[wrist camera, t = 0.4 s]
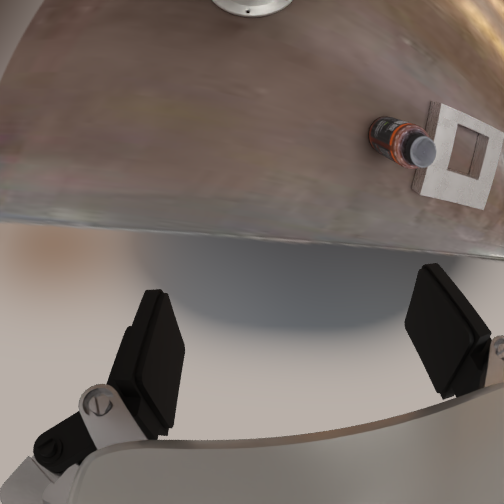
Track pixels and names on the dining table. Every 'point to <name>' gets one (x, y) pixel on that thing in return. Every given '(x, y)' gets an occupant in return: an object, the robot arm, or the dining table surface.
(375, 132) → the supplement bottle
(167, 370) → the robot arm
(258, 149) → the dining table surface
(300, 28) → the dining table surface
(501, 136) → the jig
